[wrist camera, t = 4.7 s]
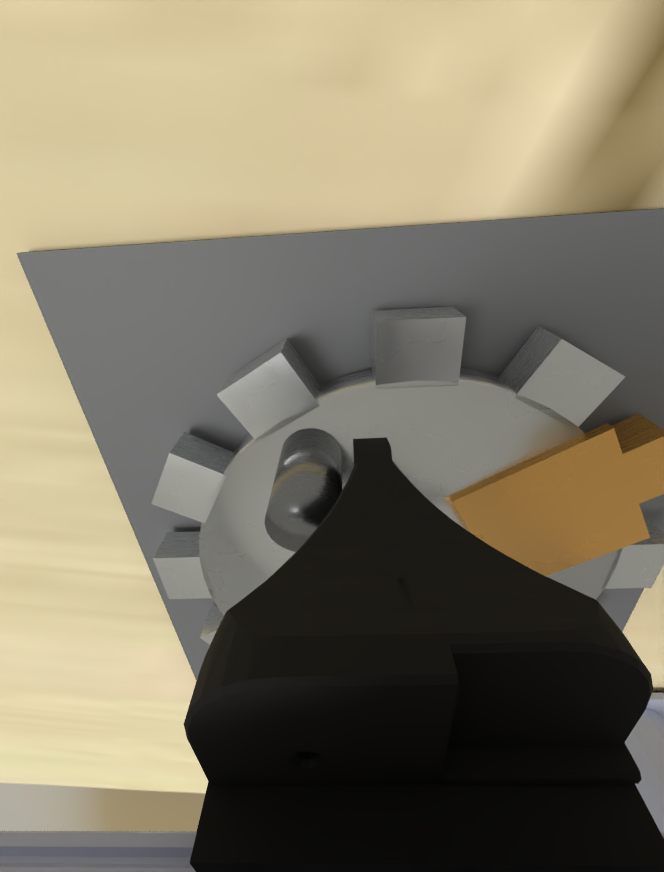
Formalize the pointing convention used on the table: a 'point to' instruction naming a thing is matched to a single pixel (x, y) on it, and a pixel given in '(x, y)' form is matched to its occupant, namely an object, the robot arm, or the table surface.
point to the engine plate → (335, 331)
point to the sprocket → (420, 461)
